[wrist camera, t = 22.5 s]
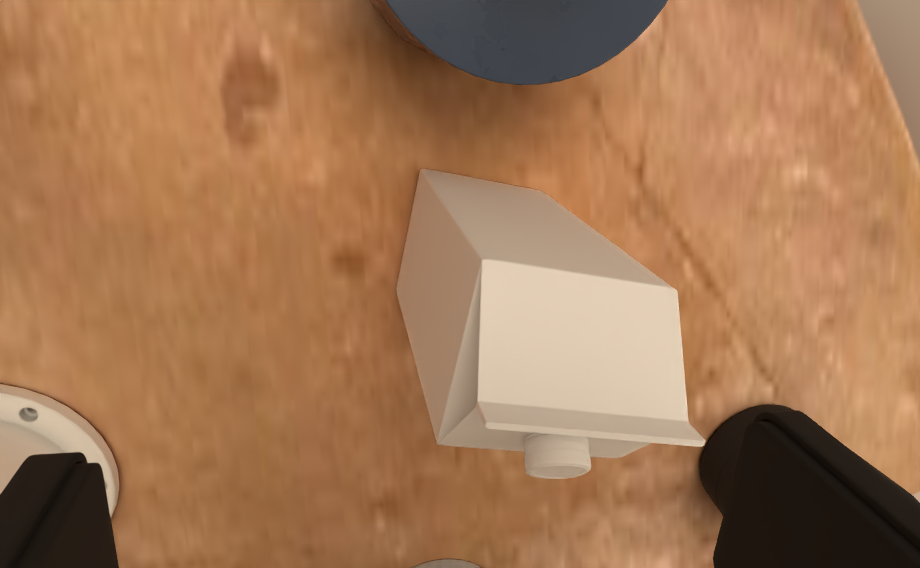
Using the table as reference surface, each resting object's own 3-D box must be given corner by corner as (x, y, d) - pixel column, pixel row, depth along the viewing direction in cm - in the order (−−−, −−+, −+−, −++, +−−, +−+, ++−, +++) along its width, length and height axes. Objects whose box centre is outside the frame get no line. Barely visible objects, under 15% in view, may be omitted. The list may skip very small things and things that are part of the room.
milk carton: (419, 166, 34) (516, 308, 17) (543, 190, 36) (748, 340, 18) (394, 289, 36) (457, 527, 19) (512, 306, 38) (668, 536, 21)
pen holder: (716, 527, 48) (808, 643, 39) (672, 443, 44) (763, 550, 35) (825, 462, 48) (943, 564, 39) (790, 372, 44) (911, 461, 35)
